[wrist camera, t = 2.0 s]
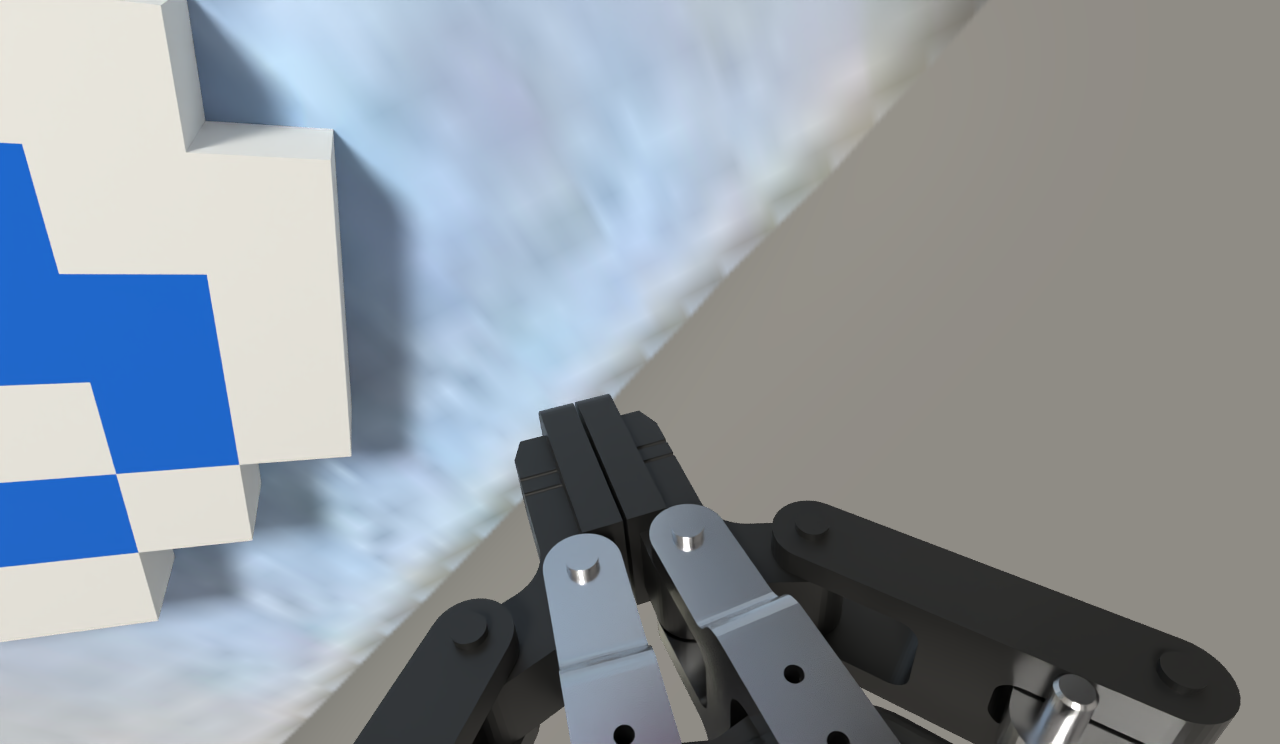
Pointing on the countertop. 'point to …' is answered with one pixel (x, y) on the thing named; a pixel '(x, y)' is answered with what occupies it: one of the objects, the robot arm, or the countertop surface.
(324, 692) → the countertop surface
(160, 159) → the pixel art tile
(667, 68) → the countertop surface
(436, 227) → the countertop surface
